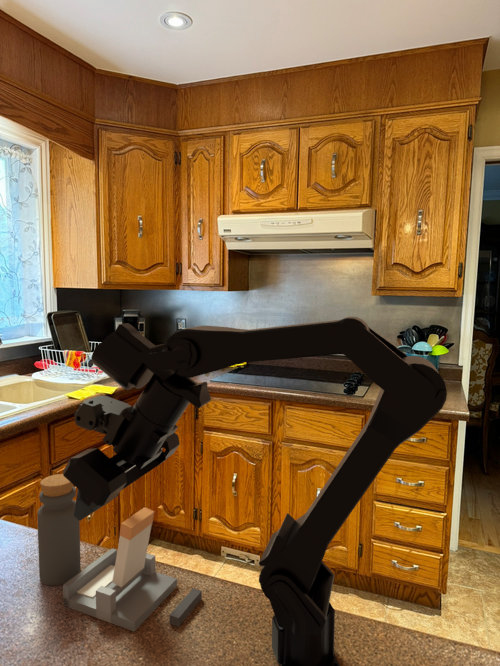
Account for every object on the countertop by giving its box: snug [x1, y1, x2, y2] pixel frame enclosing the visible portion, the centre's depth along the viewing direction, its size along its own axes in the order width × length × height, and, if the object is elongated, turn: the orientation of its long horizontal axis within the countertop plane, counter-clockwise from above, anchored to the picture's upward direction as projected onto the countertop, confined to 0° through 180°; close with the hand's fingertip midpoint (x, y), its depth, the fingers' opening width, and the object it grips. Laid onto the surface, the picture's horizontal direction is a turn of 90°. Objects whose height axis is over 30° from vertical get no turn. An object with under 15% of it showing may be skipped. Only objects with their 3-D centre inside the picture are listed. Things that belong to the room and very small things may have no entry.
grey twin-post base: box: [62, 548, 178, 632], centre depth 65 cm, size 12×10×4 cm
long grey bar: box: [168, 587, 203, 627], centre depth 62 cm, size 6×1×1 cm, turn 156°
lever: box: [112, 506, 155, 597], centre depth 64 cm, size 2×7×11 cm, turn 156°
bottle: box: [36, 473, 81, 586], centre depth 70 cm, size 6×6×15 cm
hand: (99, 501), depth 61 cm, fingers open, 9 cm apart
